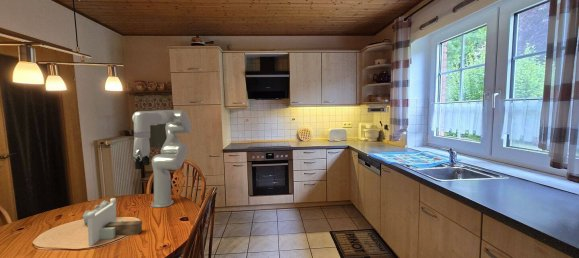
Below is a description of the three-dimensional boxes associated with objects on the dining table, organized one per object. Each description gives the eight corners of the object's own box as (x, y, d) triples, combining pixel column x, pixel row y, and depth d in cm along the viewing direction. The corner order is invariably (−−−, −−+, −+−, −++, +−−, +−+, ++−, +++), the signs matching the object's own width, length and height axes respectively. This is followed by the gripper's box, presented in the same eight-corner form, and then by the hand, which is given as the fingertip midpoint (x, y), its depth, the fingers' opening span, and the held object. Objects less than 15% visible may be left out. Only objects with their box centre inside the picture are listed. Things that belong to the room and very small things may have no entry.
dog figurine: (114, 219, 134) (114, 199, 134) (85, 228, 124) (85, 206, 123) (110, 217, 137) (110, 197, 137) (81, 225, 126) (80, 204, 126)
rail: (104, 236, 116) (104, 225, 115) (109, 232, 120) (109, 222, 119) (138, 234, 118) (138, 224, 118) (141, 230, 122) (141, 220, 122)
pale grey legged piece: (112, 225, 127) (111, 198, 126) (128, 224, 128) (127, 197, 128) (87, 246, 107) (86, 213, 106) (106, 244, 108) (105, 213, 108)
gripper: (141, 133, 141) (141, 164, 142) (126, 136, 124) (127, 170, 125) (155, 133, 143) (155, 163, 143) (143, 136, 126) (143, 170, 126)
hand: (142, 166), depth 134 cm, fingers open, 9 cm apart
